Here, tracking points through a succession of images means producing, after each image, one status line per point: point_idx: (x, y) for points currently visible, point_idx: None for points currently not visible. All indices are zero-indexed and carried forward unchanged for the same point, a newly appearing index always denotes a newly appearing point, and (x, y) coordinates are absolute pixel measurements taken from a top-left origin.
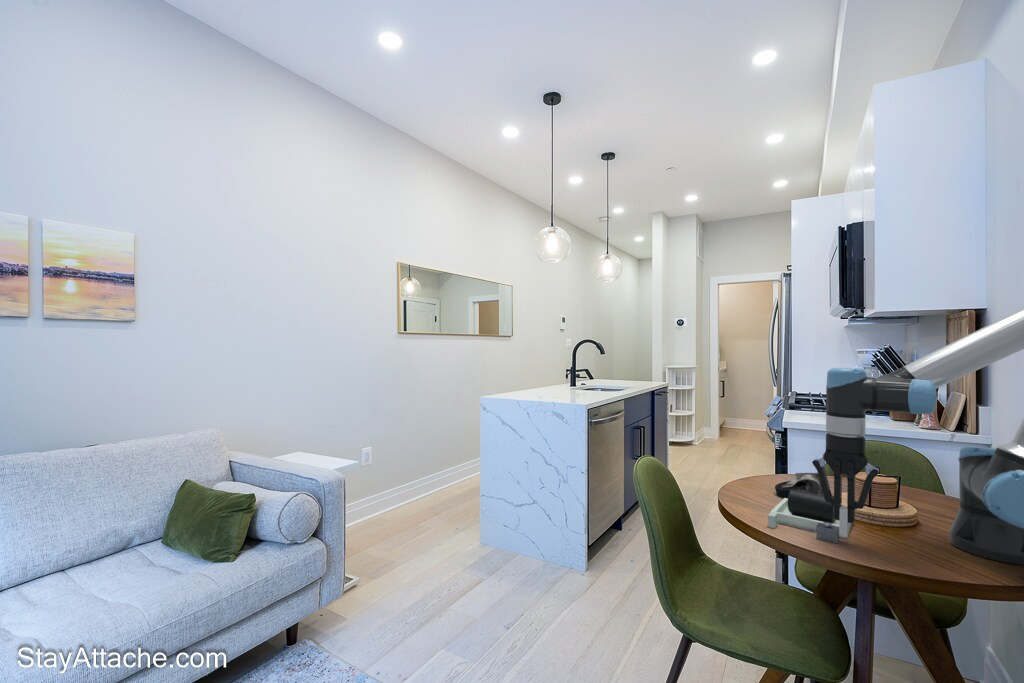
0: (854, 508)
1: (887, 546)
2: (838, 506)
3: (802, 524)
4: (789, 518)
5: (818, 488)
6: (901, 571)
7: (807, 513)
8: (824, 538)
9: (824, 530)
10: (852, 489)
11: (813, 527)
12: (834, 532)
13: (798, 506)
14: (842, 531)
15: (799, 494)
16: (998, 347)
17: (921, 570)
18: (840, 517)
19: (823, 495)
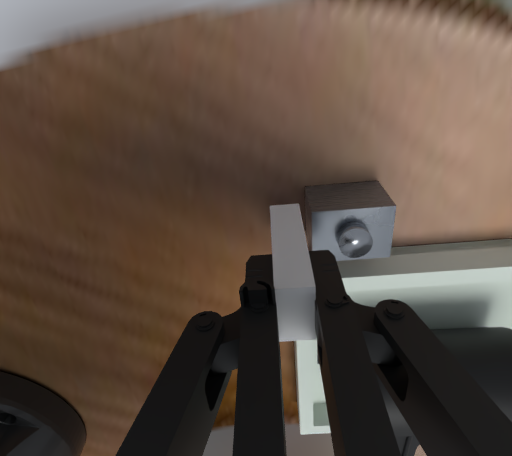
0: (240, 313)
1: (169, 283)
2: (323, 294)
3: (442, 254)
4: (501, 259)
5: None
6: (43, 64)
7: (437, 331)
8: (350, 186)
9: (358, 202)
10: (245, 424)
11: (400, 257)
12: (318, 206)
13: (485, 343)
14: (288, 215)
15: (509, 404)
16: None
17: (12, 141)
18: (304, 252)
19: (408, 435)
